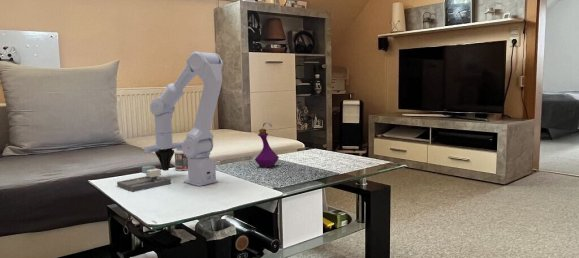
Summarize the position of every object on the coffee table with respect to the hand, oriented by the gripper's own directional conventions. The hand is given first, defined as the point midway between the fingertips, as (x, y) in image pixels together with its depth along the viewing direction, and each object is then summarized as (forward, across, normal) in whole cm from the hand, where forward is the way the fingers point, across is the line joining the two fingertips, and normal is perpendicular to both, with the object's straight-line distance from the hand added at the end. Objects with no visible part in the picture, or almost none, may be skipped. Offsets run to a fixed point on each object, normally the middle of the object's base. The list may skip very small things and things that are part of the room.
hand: (165, 170), depth 151 cm
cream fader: (+1, +8, +6) cm, 10 cm away
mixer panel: (+3, +10, +4) cm, 11 cm away
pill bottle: (+3, -12, -8) cm, 15 cm away
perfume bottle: (+3, -37, +14) cm, 40 cm away
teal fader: (+1, +6, 0) cm, 6 cm away
